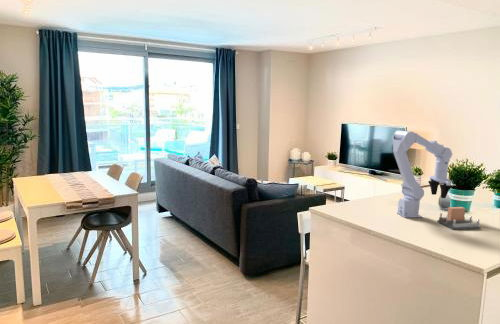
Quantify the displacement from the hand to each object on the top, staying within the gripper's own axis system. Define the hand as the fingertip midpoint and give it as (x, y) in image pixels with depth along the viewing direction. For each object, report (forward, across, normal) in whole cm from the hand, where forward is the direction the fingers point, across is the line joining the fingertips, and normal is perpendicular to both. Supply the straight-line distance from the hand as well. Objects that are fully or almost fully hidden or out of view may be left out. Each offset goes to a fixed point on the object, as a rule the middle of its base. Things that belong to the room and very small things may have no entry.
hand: (438, 196), depth 195 cm
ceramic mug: (+10, +8, -12) cm, 18 cm away
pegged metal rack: (+9, -19, +2) cm, 21 cm away
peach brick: (+8, -17, +2) cm, 19 cm away
